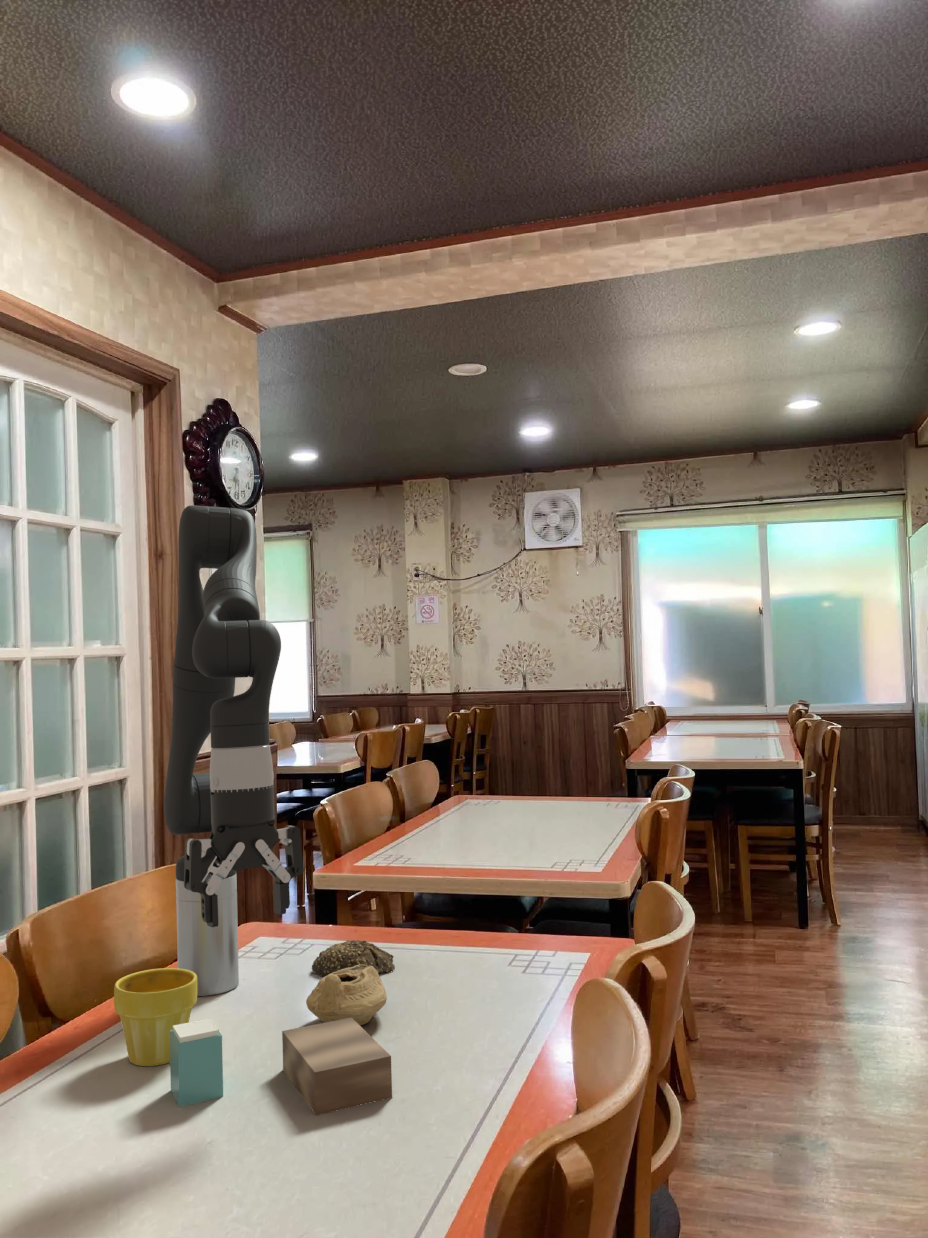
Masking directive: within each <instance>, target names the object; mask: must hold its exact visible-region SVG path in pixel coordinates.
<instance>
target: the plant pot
mask: <svg viewBox="0 0 928 1238" xmlns="http://www.w3.org/2000/svg"><path fill="white" fill-rule="evenodd" d="M113 988H114V989H113V1006H114V1012H115V1014H116V1015H118V1016H119V1017H120V1022H121V1027H122V1030H123V1036H124V1041H125V1046H126V1051H127V1055H128V1060H129V1062H130V1063H132V1064H133V1065H136V1066H139V1067H154V1066H155V1067H156V1066H162V1065H165V1064H169V1063H170V1030H173V1025H179V1024H184V1023H189V1022H190V1017H191V1013H192V1008H193V1007H194V1006H195V1005H196V1004H197V1001H198V996H197V975H196V974H195V973H194V972H192V971H190V970H186V969H179V968H178V967H176V968H175V967H163V968H151V969H145V970H141V971H137V972H134V973H133V972H132V973H130V974H128V975H125V976H123V977H121V978H119V979H118V980H117V981H116V982H115V984H114V987H113Z"/></svg>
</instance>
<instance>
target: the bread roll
mask: <svg viewBox="0 0 928 1238" xmlns="http://www.w3.org/2000/svg"><path fill="white" fill-rule="evenodd" d="M314 959H315V960H314V961H313V963H312V965H311V971H312V973H313V974H315V975H318V976H319V977H322V978H324V977H325V976H327V975H329V974H331V973H333V972H336V971H339V970H341V969H345V968H349V967H353V966H355V965H367V966H373V967H374V968H375V969H376V971H377V972H378V974H383V973H384V972H385V973H384V974H389V973H388V972H390V973H392V972H394V971H395V967H396V966H395V964H394V960H393V959H394V955H393V954H390V953H389V952H387V951H385V950H383V949H381V948H380V947H378V946H377V945H375V944H374V943H372V942H368V941H366V940H358V939H353V940H348V939H347V940H346V941H343V942H338V943H335V944H332V945H331V946H329V947H327V948H326V949H324V950H322V951H320V952H319V954H318V956H316V958H314ZM393 970H394V971H393ZM391 971H392V972H391Z"/></svg>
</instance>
